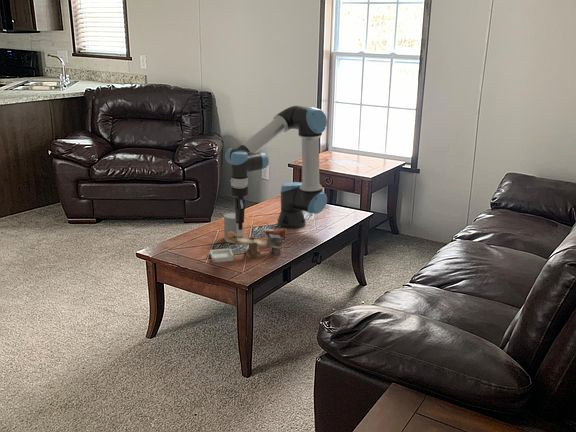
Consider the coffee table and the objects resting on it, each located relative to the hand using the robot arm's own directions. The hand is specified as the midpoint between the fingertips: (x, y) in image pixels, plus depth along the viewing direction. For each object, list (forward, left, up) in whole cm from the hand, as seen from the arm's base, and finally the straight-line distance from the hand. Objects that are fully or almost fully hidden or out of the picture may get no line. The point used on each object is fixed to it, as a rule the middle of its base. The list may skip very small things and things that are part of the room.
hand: (239, 235), depth 271 cm
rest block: (-17, 0, -10) cm, 20 cm away
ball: (+4, 0, 0) cm, 4 cm away
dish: (+9, 0, -10) cm, 13 cm away
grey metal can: (-1, -23, -10) cm, 25 cm away
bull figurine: (-19, -12, -10) cm, 25 cm away
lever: (-6, 0, -4) cm, 8 cm away
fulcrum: (-6, 0, -10) cm, 12 cm away
